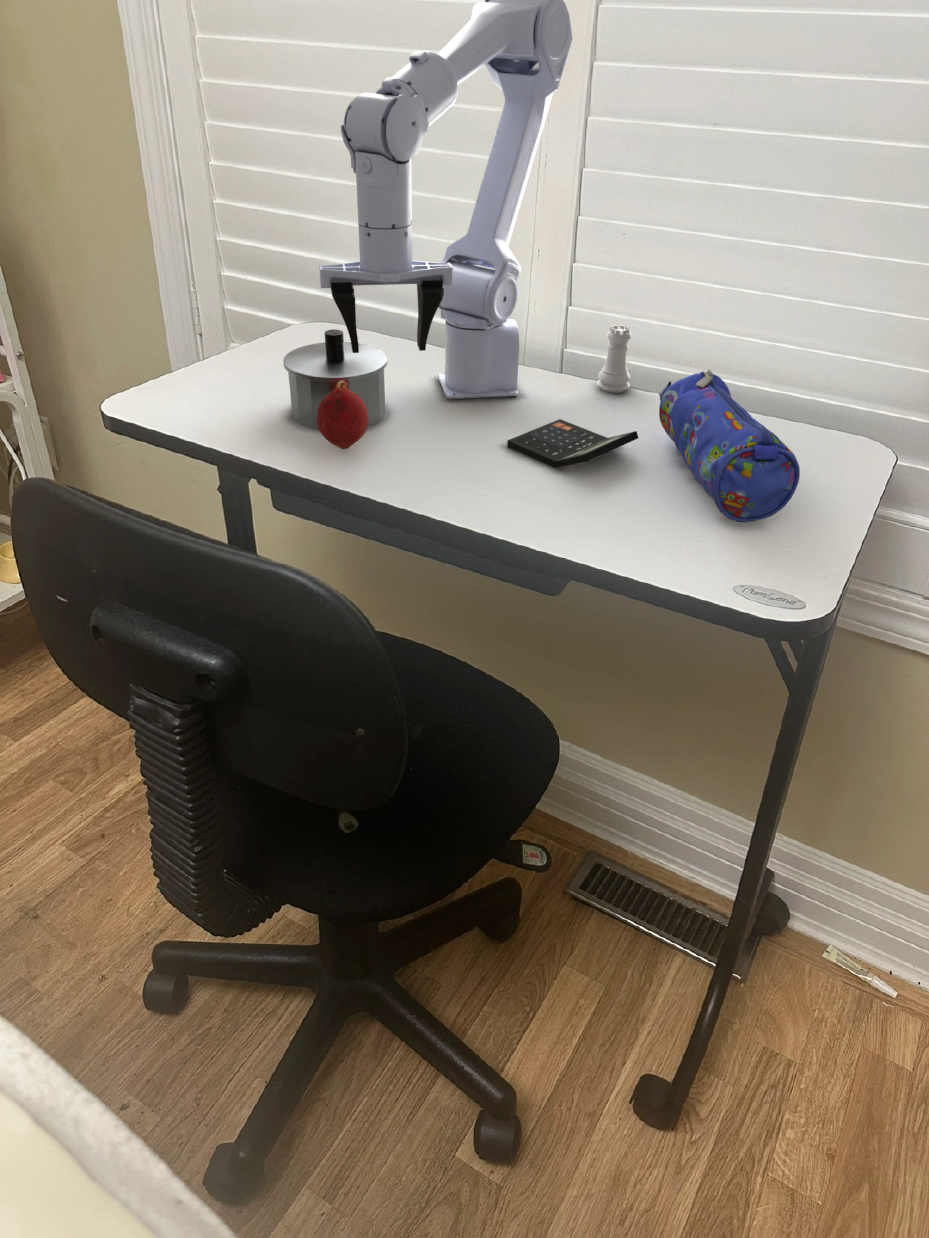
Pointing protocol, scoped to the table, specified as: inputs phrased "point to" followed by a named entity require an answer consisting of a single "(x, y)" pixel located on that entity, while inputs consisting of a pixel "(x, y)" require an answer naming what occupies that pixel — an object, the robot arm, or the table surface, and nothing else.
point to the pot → (312, 392)
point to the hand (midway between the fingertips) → (388, 349)
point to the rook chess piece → (616, 361)
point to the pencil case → (728, 448)
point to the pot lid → (334, 360)
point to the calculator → (566, 444)
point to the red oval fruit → (342, 417)
